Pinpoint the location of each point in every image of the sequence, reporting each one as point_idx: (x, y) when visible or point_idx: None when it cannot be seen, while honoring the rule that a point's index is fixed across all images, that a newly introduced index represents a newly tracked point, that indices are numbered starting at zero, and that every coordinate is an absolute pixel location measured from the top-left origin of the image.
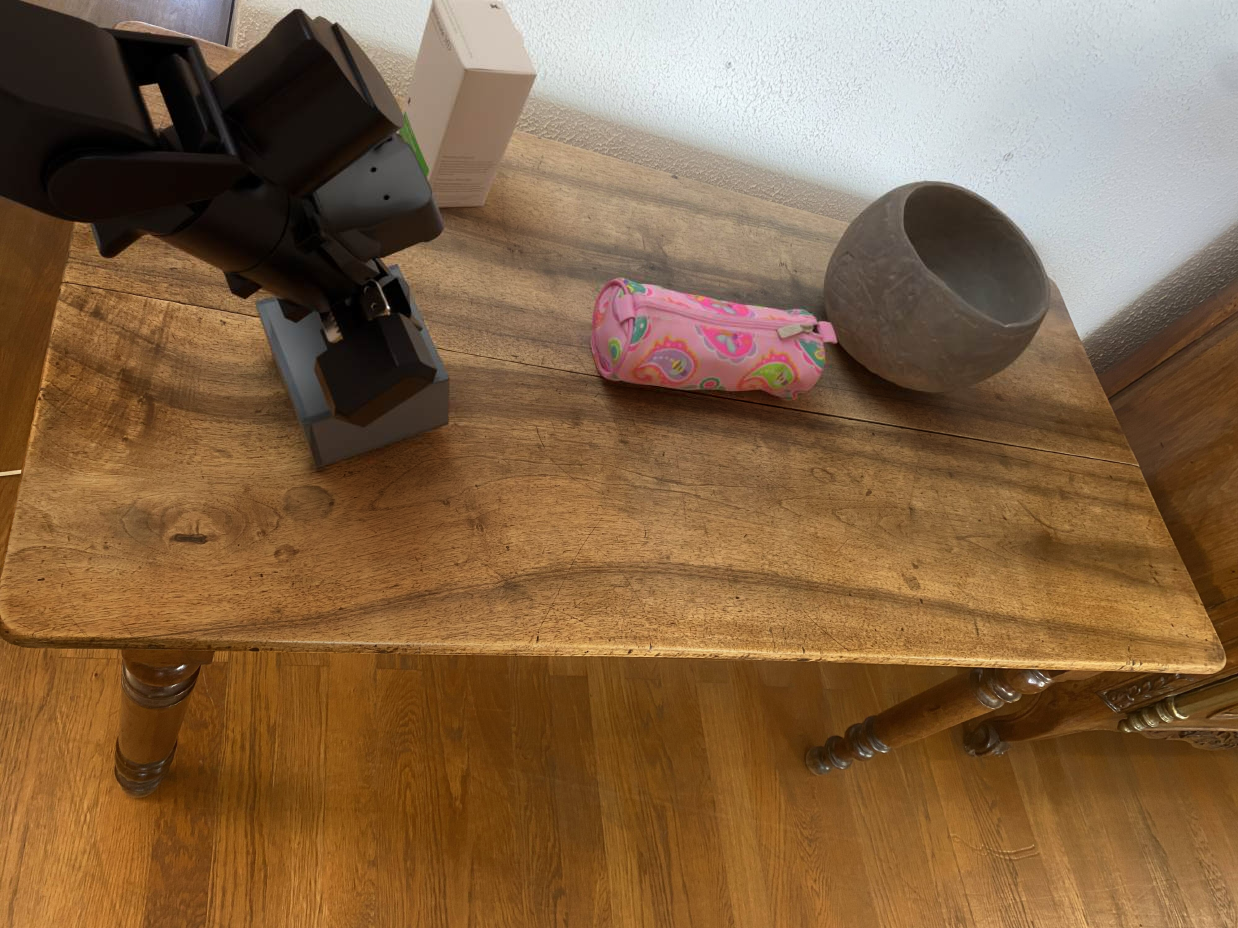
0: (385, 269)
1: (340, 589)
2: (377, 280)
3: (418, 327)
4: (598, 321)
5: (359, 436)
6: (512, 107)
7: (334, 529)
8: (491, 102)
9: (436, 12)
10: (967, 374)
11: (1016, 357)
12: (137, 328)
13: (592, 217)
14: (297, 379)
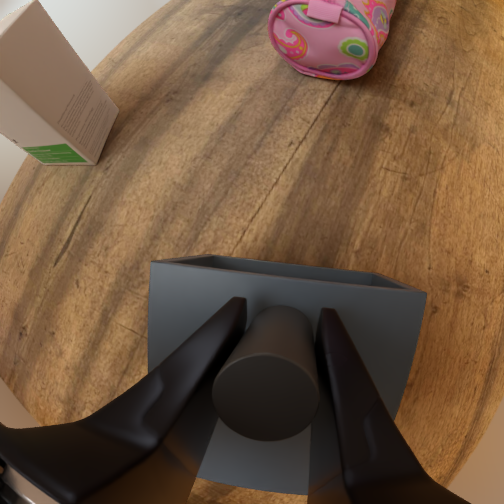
0: (189, 384)
1: (454, 434)
2: (206, 397)
3: (346, 330)
4: (300, 49)
5: None
6: (49, 35)
7: (410, 426)
8: (31, 50)
9: None
10: None
11: None
12: None
13: (173, 36)
14: (294, 484)
